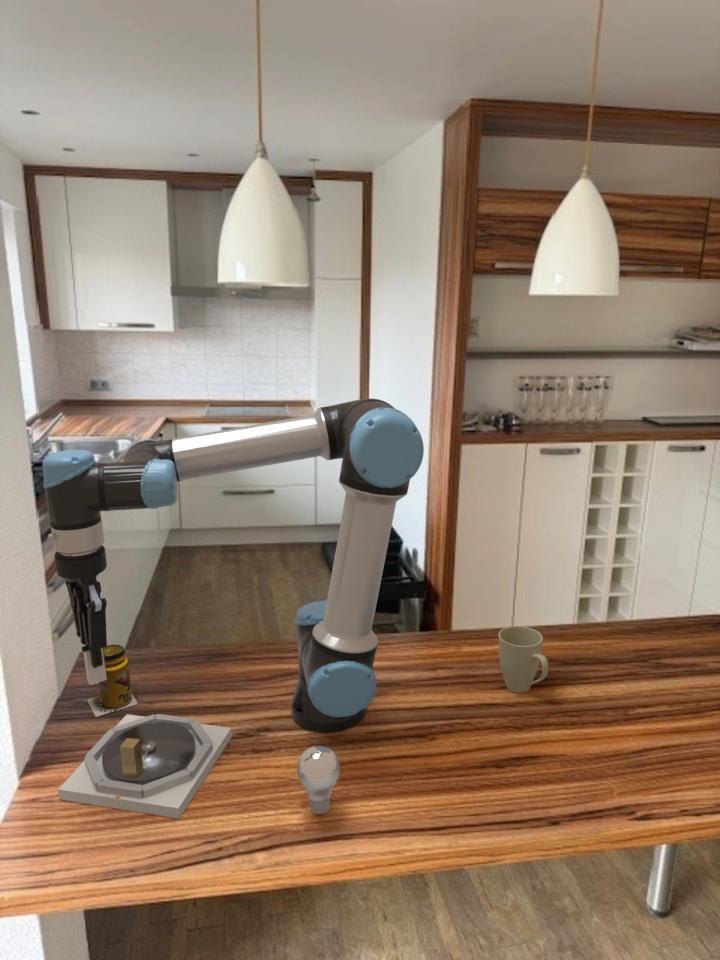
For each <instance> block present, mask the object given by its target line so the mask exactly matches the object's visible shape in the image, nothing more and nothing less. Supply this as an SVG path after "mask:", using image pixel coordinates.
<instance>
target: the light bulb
mask: <svg viewBox="0 0 720 960" xmlns="http://www.w3.org/2000/svg"><path fill="white" fill-rule="evenodd" d="M340 773H341V764H340V760H339V757H338V756H337V754H336V752H334V750H332V749H331V748H330V747H328V746H325V745H322V744H321V745H320V744H317V745H312V746H310V747H308V748H306V749H305V750H304V751H303V752H302V753H301V754H300V756H299V758H298V761H297V765H296V774H297V778H298V781H299V783H300V784H301V786H302V787H303V789H305V790H306V794H307V797H308V798H309V800H308V803H309V809H310V811H311V812H312V813H314V814H315V815H318V816H321V815H323V814H325V813H327V812H328V811H329V810H330V807H331V799H330V797H331V795H332V790H333V788H334V787H335V785H336V783H337V782H338V781H339V777H340Z"/></svg>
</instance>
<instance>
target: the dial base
mask: <svg viewBox="0 0 720 960" xmlns="http://www.w3.org/2000/svg"><path fill="white" fill-rule="evenodd" d="M152 723H172V724H176V725H180V726H182V727H184V728H186V729H188V730H189V731H190V732H191V733H192V735H193V736H194V739H195V747H196V748H195V755H194V757H193V759H192V760H191V762H190V763H189V764H188V765H187V767H185V768H184V769H183V770H182V771H179V772H177V773H174V774H171V775H169V776H166V777H163V778H161V779H158V780H155V781H153V782H150V783H147V784H145V785H139V784H133V783H126V782H119V781H113V780H111V779H110V778H109V777H107V775H106V774H105V772H104V770H103V764H102V756H103V753H104V750H105V749H106V747H107V746H108V745H109V743H110V742H111V741H112V740H114V739H115V738H116V737H117V736H119V735H121V734H122V733H124V732H126V731H128V730H130V729H133V728H135V727H138V726H142V725H146V724H152ZM232 733H233V731H232V727H227V726H219V725H211V724H204V723H200V722H199V721H198V719H196V718H192V717H184V716H176V715H169V714H160V713H156V714H151V715H148V716H144V715H143V716H142V715H135V714H128V713H127V714H125V716H123V718H122V719H121V720H120V721H119V722H118V723H117V724H116V725H115V726H114V727H111V728H109V730H107V731H106V733H105V734H104V735H102V737H101V738H100V739H99V740H98V741H97V742H96V744H95V745H93V747H92V748H91V749H90V750H89V751H88V752H87V753H86V754H85V756H84V760H83V761H82V763H81V764H80V765H79V766H78V767H77V768H76V769H75V770H74V771H73V772H72V774H71V775H69V777H68V778H67V779H66V780H65V781H64V782H63V783H62V784H61V785H60V786H59V788H58V789H57V791H58V792H57V793H58V798H59V800H63V801H68V802H72V803H74V802H75V803H80V804H85V805H92V806H98V807H105V808H112V809H116V810H118V809H119V810H123V811H129V812H130V811H131V812H136V813H143V814H148V815H154V816H160V817H167V818H173V819H180V818H181V817H182V815H183V814H184V812H185V810H186V809H187V807H188V806H189V805H190V803H191V802H192V800H193V799H194V797H195V795H196V794H197V792H198V791H199V789H200V787H201V785H202V784H203V783H204V781H205V780H206V778H207V777H208V775H209V774H210V772H211V771H212V769H213V767H214V765H216V763H217V761H218V760H219V759H220V756H221V755H222V753H223V752H224V751H225V748H226V747H227V745H228V744H229V743H230V741H231V739H232V738H233V734H232Z"/></svg>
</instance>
